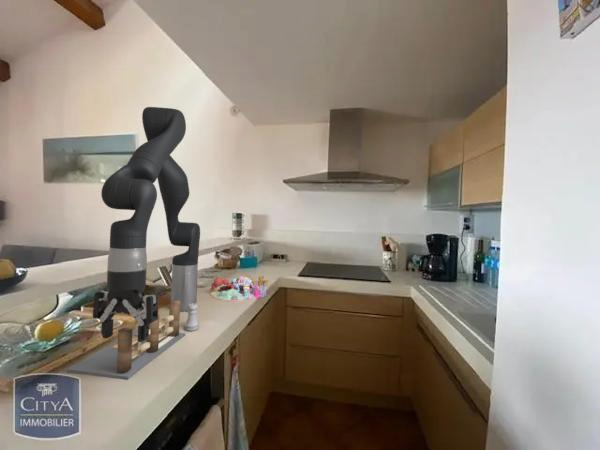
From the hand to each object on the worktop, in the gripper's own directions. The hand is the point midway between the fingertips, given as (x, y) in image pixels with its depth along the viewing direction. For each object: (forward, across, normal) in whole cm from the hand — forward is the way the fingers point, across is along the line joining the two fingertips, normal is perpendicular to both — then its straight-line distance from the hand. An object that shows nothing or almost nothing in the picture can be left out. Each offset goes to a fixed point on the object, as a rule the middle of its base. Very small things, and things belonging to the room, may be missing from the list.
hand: (124, 338), depth 64 cm
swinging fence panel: (+7, 0, -4) cm, 8 cm away
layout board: (+8, +5, -10) cm, 14 cm away
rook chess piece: (+8, -2, -27) cm, 28 cm away
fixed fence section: (+7, 0, -15) cm, 17 cm away
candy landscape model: (+8, -3, -71) cm, 71 cm away
